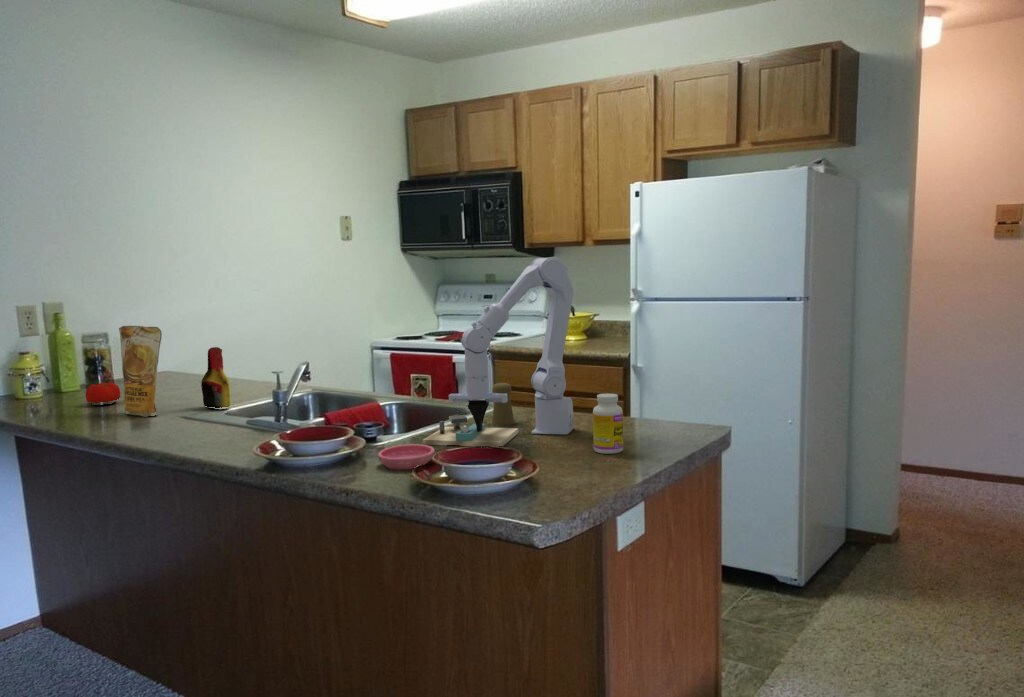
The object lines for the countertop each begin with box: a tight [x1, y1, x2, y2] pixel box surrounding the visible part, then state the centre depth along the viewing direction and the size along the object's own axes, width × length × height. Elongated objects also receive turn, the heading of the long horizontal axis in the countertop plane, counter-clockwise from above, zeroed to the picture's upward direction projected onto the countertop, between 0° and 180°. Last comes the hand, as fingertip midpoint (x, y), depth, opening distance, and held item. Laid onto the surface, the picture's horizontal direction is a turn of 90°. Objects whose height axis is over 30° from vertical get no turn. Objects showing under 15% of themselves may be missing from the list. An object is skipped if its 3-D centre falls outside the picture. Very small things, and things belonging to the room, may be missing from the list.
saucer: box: [377, 443, 436, 471], centre depth 168 cm, size 12×12×3 cm
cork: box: [491, 382, 515, 427], centre depth 206 cm, size 6×6×11 cm
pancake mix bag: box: [118, 325, 163, 413], centre depth 239 cm, size 7×19×28 cm, turn 57°
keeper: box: [438, 414, 468, 434], centre depth 194 cm, size 6×7×5 cm
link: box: [456, 423, 486, 441], centre depth 188 cm, size 13×4×2 cm, turn 165°
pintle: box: [461, 424, 469, 433], centre depth 184 cm, size 1×1×3 cm
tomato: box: [85, 381, 121, 403], centre depth 262 cm, size 11×11×8 cm
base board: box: [422, 426, 520, 447], centre depth 190 cm, size 20×15×1 cm
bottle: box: [200, 346, 231, 408], centre depth 244 cm, size 12×6×20 cm, turn 52°
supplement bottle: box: [592, 393, 624, 455], centre depth 172 cm, size 7×7×13 cm
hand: (479, 430), depth 189 cm, fingers closed, pressing on link
